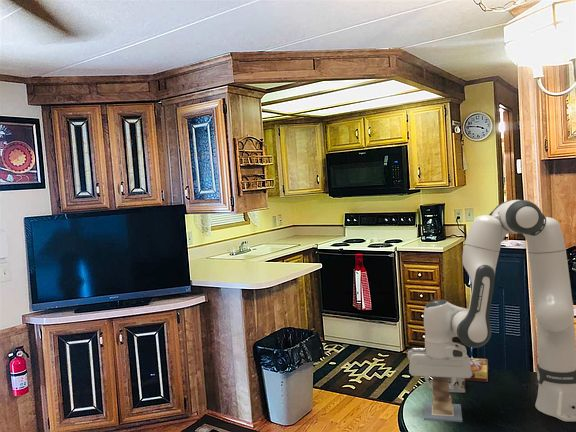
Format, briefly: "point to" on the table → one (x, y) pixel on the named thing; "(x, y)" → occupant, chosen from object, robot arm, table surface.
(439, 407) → the oak block
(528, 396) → the table surface
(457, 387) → the coffee box
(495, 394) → the table surface
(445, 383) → the walnut cube
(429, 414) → the plate
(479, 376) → the candy box
